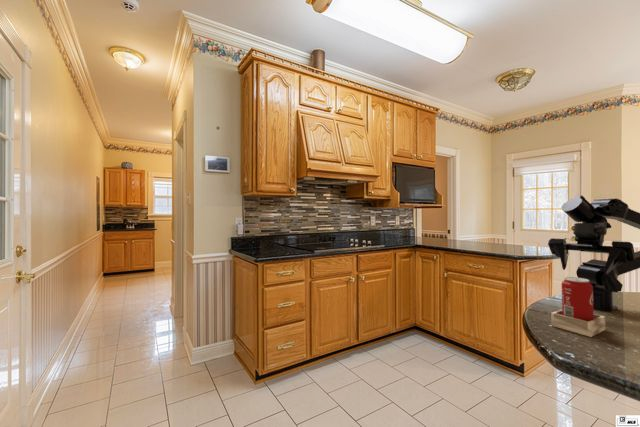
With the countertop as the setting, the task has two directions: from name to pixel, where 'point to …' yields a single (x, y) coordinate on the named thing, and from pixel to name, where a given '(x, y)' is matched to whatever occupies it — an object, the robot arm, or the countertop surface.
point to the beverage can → (577, 298)
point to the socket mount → (578, 324)
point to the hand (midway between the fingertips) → (583, 271)
